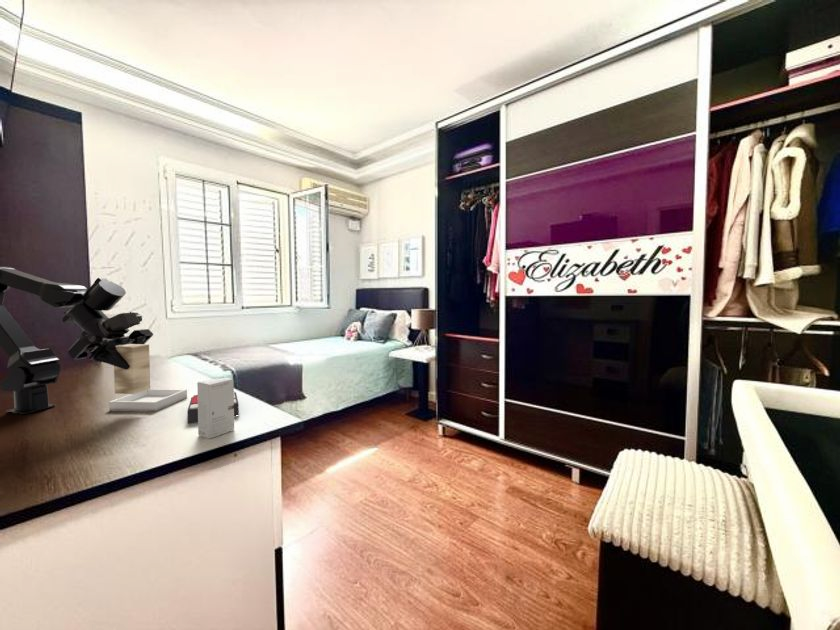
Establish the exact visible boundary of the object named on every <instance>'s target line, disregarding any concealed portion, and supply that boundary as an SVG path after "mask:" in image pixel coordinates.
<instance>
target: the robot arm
mask: <svg viewBox="0 0 840 630" xmlns="http://www.w3.org/2000/svg"><path fill="white" fill-rule="evenodd" d="M11 288H13V289H16V290H20V291H22V292H25V293H29V294H33V295H35V296H37V297H38V298H39V299H40V301H41V302H43V303H45V304H47V305H49V306H51V307H53V308H70V309H69V310H68V311H64V312H63V317H62V318H61V319H62V320H61V321H62V323H75V324H76V325H77V326H78V327H79V328H80V329H81V330H82V331H83V332H81V336H80V337H79V338H78V339H77V340H76V341H75V342H74V343H73V344H72V345H71V346H70V348H68V350H67V352H68V356H69V357H70V358H71V359H72V360H73V361H79V360H84V359H86V358H87V357H88V352H86V351H89V353H90V354H91V355H89V357H88V359H89V360H90V361H93V360H94V361H97V362H101V363H104V364H108V365H111V366H113V367H114V366H116V367H119V368H122V369H125V370H127V369H129V368H130V366H129V364H128V363H127V361H126V360H125V359H124V358H123V357H122V356H121V354H120V353H119V352H118V351H117V350H116V346H121V345H127V344H146V343H147V342H148V341H149V340H150V339H151V338H152V337H153V336H154V333H153V332H152V331H151V330H150V329H147V328H143V329H142V328H141V329H135V330H133V331H132V332H130V329H129V328H132V327H134V326H139V325H140V324H141V322H143V316H142V315H141V314H140V313H139V312H138V311H136V310H134V311H129V312H122V313H121V312H120V313H118V314H116V315H113V316H111V317H109V316H107V314H105V313H104V312H103V311H106V312H107V311H110V310H112V309H113V308H114V307H115V306H116V304H118V303H119V301H121V299H123V298H124V296H125V295H126V294H127V293H126V289H124V287H123V286H121V285H119V284H117V283H115V282H113V281H110V280H108V279H107V277H97V278H96V279H95V280H94V282H93V283H92V284H91V286H90V287H88V288H87V287H86V286H84V285H80V284H73V283H64V282H56V281H52V280H49V279H45V278H42V277H39V276H36V275H33V274H31V273H27V272H24V271H20V270H17V269H16V268H14V267H10V266H0V347H1V348H2V350H3V351H4V352H5V354H7V356H8V358H9V359H8V361H7V367H6V368H7V372H9V373H7V375H6V376H5V377H4V378H3V379H2V380H1V381H0V389H1V390H2V392H13V405H14V406H13V407H14V408H12V409H7V410H5V411H6V413H7V412H12V413H11V414H17V413H19V414H20V415H29V414H31V413H35V411H36V412H39V410H40V411H43V410H42V409H44V410H47V409H50V407H51V408H54V407H56V404H54V403H53V404H52V403H49V392H48V391H49V390H48V385H51V384H56V383H57V381H58V378H59V376H60V372H61V368H62V366H61V364H60V362H59V361H60V359H59V358H58V357H57V356H56V355H55V354H54V352H53V350H51V348H43V349H42V348H41V349H40V348H38V347H36V346H35V344H34V343H33V342H32V340H30V337H28V335H27V334H26V333H25V332H24V330H23V329H22V328H21V326H20V325H19V323H17V321H16V320H15V318H14V317H13V316H12V314H11V313H10V312H9V311H8V310H7V308H6V307H5V305H4V300H5V295H6V294H5V292H6V291H9V290H10V289H11ZM129 332H130V334H129V335H125V334H128V333H129ZM46 408H47V409H46ZM19 414H18V415H19Z"/></svg>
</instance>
